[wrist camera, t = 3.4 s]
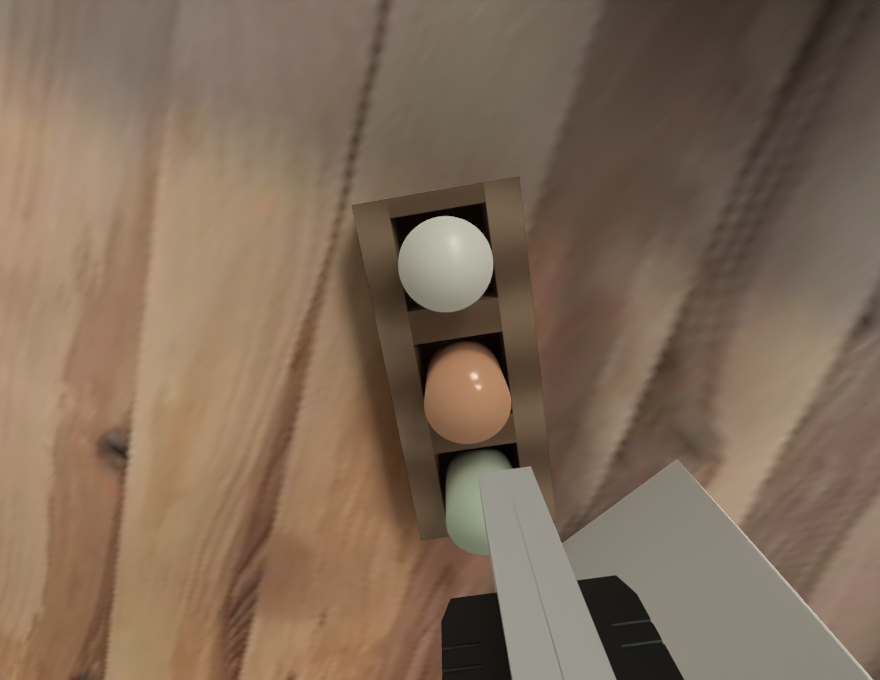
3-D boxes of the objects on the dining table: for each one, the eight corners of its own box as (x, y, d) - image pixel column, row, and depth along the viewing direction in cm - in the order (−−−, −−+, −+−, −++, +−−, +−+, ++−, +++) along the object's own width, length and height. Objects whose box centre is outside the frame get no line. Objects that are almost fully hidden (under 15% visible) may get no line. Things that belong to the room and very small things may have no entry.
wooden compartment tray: (363, 206, 30) (351, 205, 26) (509, 182, 29) (519, 176, 25) (423, 505, 36) (421, 540, 32) (544, 489, 35) (556, 522, 32)
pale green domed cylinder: (440, 450, 31) (440, 493, 26) (509, 441, 31) (521, 481, 26) (451, 509, 33) (452, 560, 28) (517, 500, 32) (530, 550, 28)
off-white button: (399, 223, 27) (389, 224, 22) (478, 210, 27) (486, 208, 22) (413, 302, 28) (407, 318, 24) (489, 289, 28) (499, 304, 23)
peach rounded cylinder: (421, 345, 29) (416, 370, 24) (495, 334, 29) (505, 357, 24) (433, 413, 30) (431, 449, 26) (504, 402, 30) (516, 437, 25)
